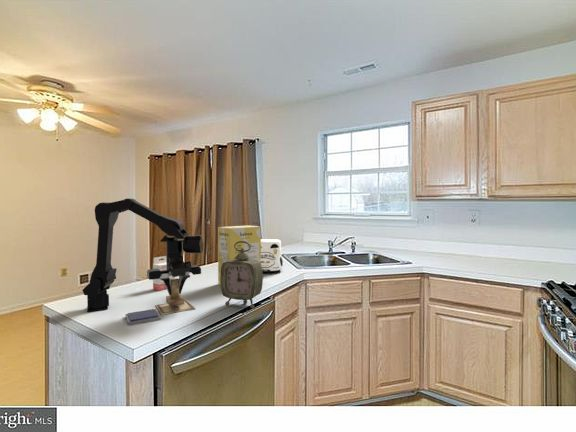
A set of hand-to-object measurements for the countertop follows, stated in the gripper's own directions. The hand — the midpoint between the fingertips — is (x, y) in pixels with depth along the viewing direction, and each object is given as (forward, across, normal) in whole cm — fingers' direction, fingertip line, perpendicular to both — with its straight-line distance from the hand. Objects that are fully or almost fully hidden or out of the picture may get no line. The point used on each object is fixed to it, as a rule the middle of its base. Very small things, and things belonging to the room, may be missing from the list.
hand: (174, 294), depth 120 cm
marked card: (+5, 0, 0) cm, 5 cm away
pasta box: (+5, +36, +22) cm, 43 cm away
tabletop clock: (+5, +23, -11) cm, 26 cm away
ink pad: (+5, -12, -6) cm, 14 cm away
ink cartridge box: (+5, +2, +31) cm, 32 cm away
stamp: (+3, 0, 0) cm, 3 cm away
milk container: (+5, +61, +39) cm, 73 cm away
